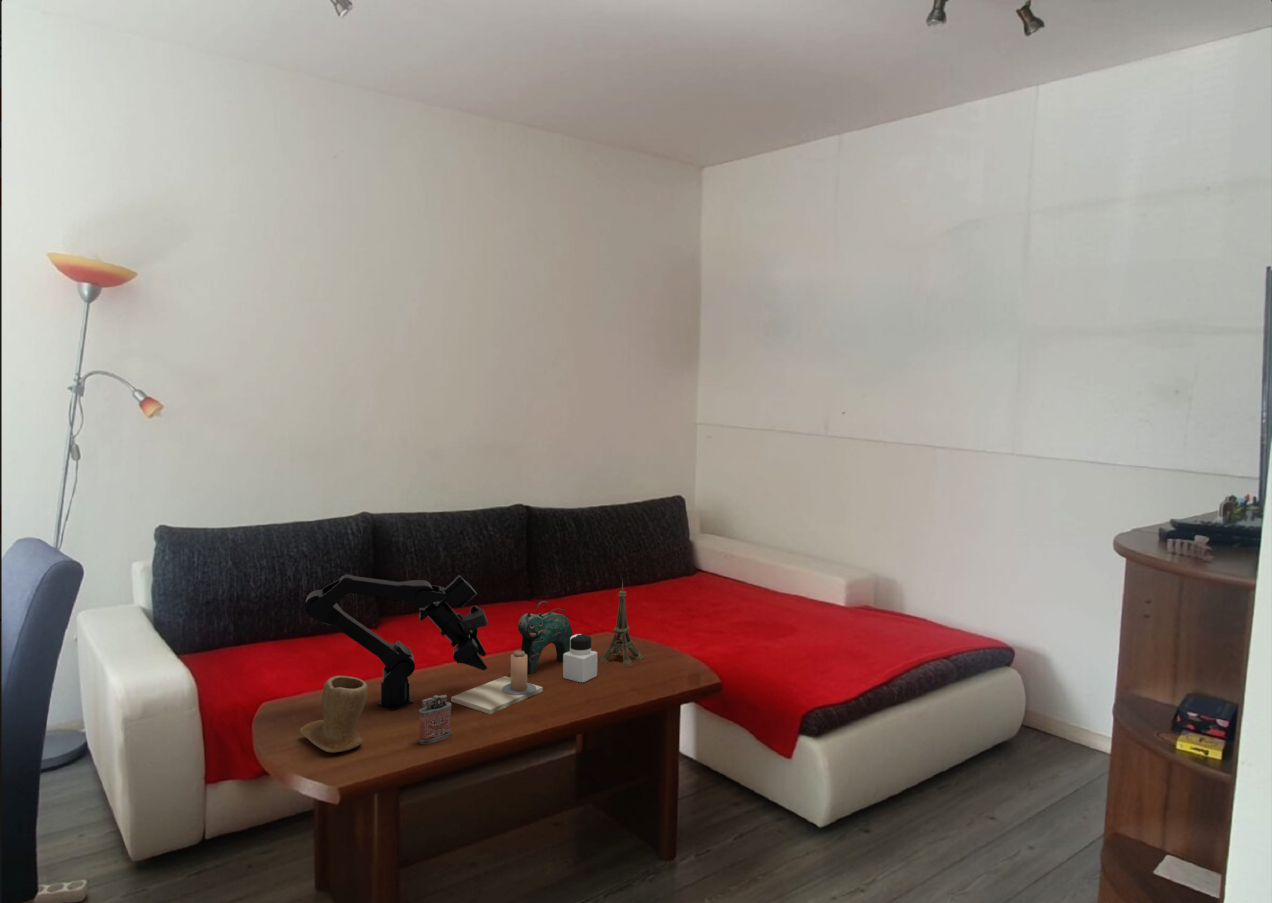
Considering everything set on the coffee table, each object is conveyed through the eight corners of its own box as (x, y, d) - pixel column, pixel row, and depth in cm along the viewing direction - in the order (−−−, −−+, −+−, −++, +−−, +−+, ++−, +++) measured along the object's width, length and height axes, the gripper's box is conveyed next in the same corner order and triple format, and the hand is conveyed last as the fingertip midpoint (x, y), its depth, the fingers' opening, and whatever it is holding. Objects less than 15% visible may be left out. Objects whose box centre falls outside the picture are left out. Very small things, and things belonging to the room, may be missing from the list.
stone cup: (376, 746, 192) (376, 681, 191) (325, 761, 184) (324, 694, 183) (348, 725, 203) (348, 664, 202) (298, 738, 195) (298, 675, 194)
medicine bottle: (597, 676, 241) (598, 635, 240) (582, 683, 235) (583, 641, 234) (577, 671, 245) (578, 630, 244) (562, 678, 239) (562, 636, 238)
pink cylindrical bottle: (523, 691, 224) (524, 655, 223) (508, 690, 225) (508, 653, 224) (529, 686, 228) (529, 650, 227) (513, 684, 229) (514, 648, 228)
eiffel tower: (612, 652, 263) (614, 573, 262) (643, 657, 259) (645, 576, 257) (597, 662, 254) (599, 580, 252) (630, 667, 250) (631, 584, 248)
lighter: (446, 731, 201) (446, 690, 200) (454, 735, 199) (454, 694, 198) (416, 740, 196) (416, 698, 195) (423, 745, 193) (423, 702, 192)
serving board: (491, 714, 212) (491, 709, 212) (451, 701, 220) (451, 696, 220) (544, 691, 228) (544, 686, 228) (504, 680, 236) (504, 675, 236)
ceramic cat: (528, 677, 239) (528, 608, 238) (512, 672, 243) (512, 603, 242) (575, 660, 255) (576, 595, 253) (560, 655, 259) (561, 591, 257)
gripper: (471, 612, 211) (511, 656, 215) (471, 588, 229) (507, 629, 233) (436, 641, 210) (476, 684, 214) (438, 615, 228) (476, 655, 232)
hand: (485, 662), depth 223 cm, fingers open, 9 cm apart
